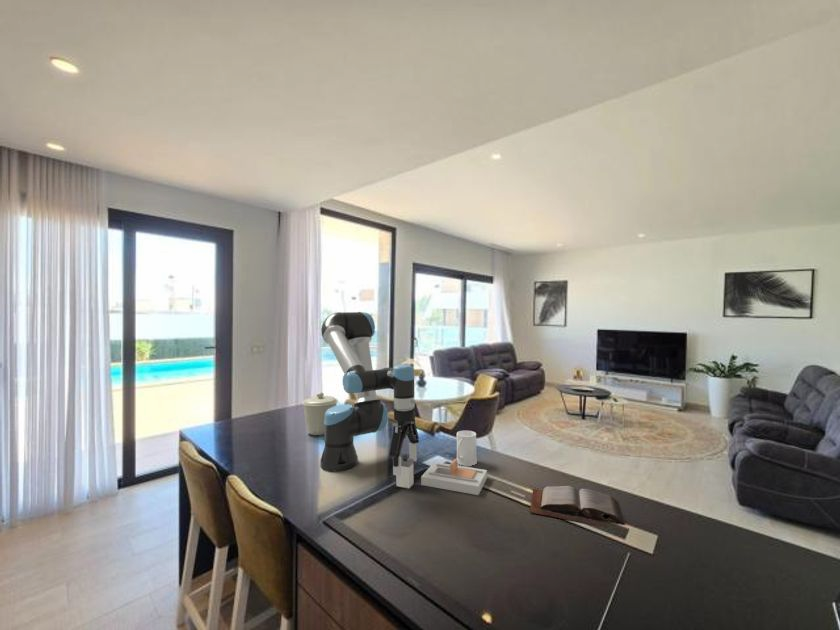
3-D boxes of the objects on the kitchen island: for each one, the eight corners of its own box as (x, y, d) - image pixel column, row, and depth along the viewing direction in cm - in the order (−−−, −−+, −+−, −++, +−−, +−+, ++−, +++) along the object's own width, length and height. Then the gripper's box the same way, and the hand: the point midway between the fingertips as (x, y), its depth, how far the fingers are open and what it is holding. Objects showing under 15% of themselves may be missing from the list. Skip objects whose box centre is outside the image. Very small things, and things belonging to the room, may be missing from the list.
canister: (333, 438, 184) (333, 396, 184) (297, 438, 184) (296, 396, 184) (341, 427, 202) (341, 388, 202) (308, 427, 202) (308, 388, 202)
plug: (396, 486, 133) (396, 455, 132) (401, 481, 136) (400, 451, 136) (409, 488, 131) (408, 457, 131) (413, 483, 134) (413, 453, 134)
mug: (465, 471, 145) (464, 440, 144) (447, 465, 150) (447, 436, 150) (480, 461, 154) (480, 432, 153) (463, 456, 159) (463, 428, 159)
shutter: (449, 476, 133) (449, 464, 133) (455, 469, 139) (455, 457, 139) (471, 480, 130) (471, 468, 130) (476, 472, 136) (476, 461, 136)
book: (632, 535, 104) (632, 519, 104) (529, 514, 114) (529, 499, 114) (621, 505, 122) (621, 491, 122) (533, 489, 132) (533, 476, 132)
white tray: (421, 484, 133) (421, 474, 133) (434, 469, 146) (434, 460, 146) (478, 495, 125) (478, 484, 125) (487, 478, 138) (487, 468, 138)
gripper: (398, 418, 120) (399, 483, 120) (426, 401, 143) (427, 456, 143) (378, 416, 123) (379, 480, 123) (408, 400, 146) (409, 454, 146)
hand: (405, 467), depth 133 cm, fingers open, 13 cm apart
